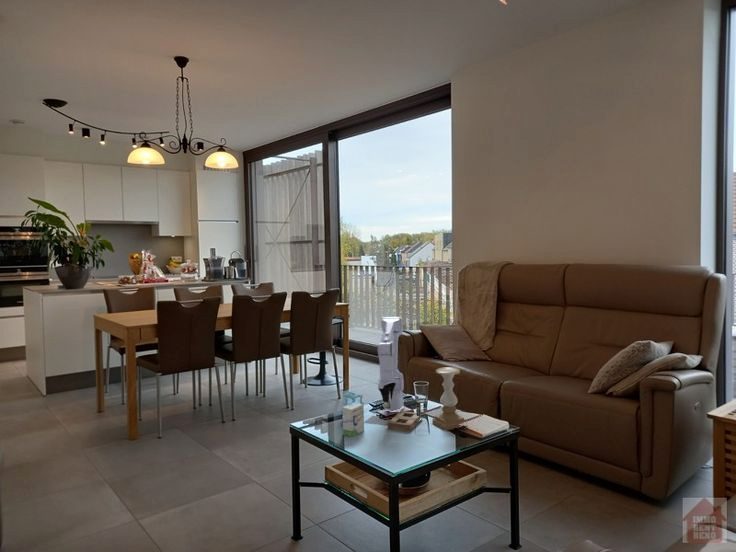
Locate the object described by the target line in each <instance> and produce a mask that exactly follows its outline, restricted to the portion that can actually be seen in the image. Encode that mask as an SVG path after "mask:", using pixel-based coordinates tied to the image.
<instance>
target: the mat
mask: <svg viewBox="0 0 736 552" xmlns="http://www.w3.org/2000/svg"><path fill="white" fill-rule="evenodd" d="M389 421H390V420H383V419H380V418H379V415H372V416H370V417H368V419H366V420H364V424H371V425H381V426H386V425H387V423H388V422H389Z"/></svg>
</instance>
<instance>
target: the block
mask: <svg viewBox="0 0 736 552" xmlns="http://www.w3.org/2000/svg"><path fill="white" fill-rule="evenodd" d="M416 413H417V412H411V411H404V410H402V411H400V412H399V413H396V414H395V416H394V417H391V418H392V419H391V420H390V421H389V422H388V423H387V424H386V425H387V430H393V431H402V432H408V433H409V432H411V431H412V430H413V429H414V428H416V426H417V425H418V424H419V423H420V422H419V420H420V417H419V416H417V415H416ZM418 422H419V423H418Z"/></svg>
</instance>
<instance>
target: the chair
mask: <svg viewBox="0 0 736 552" xmlns="http://www.w3.org/2000/svg"><path fill="white" fill-rule="evenodd" d="M357 398H360V399H359V401H358V400H356V399H357ZM348 399H350V401H348ZM362 399H363V395H362V394H358V393H354V392H351V391H350V392H347V393H346V394H344V400H345V402H343V406H344V407H345V406H347V405H349V404H352V403H360V404H363V405H364V404H365V403H364V402H363V400H362ZM341 418H342V419H343V416H341Z"/></svg>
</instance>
